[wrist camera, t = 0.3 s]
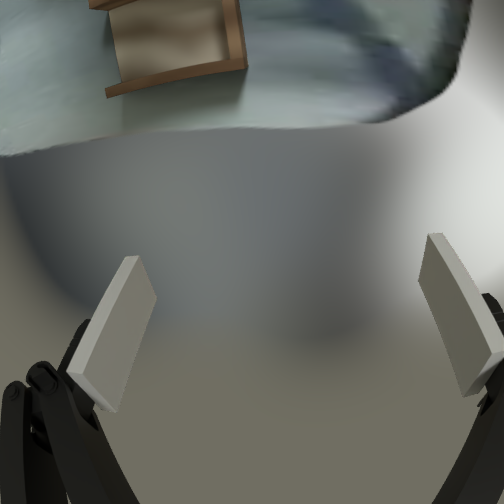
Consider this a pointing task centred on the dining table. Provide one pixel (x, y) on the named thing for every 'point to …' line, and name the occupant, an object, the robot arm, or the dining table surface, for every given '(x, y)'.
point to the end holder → (173, 40)
